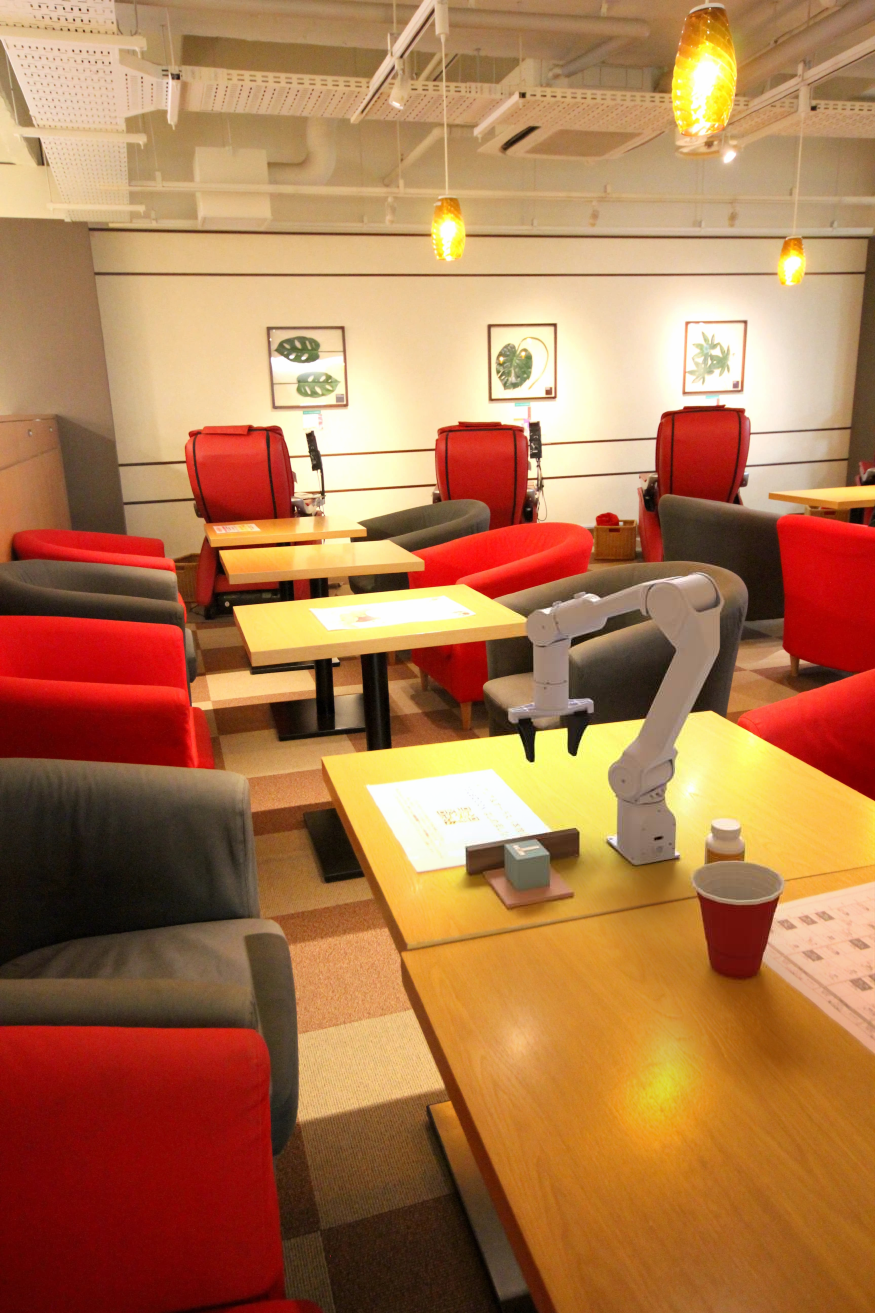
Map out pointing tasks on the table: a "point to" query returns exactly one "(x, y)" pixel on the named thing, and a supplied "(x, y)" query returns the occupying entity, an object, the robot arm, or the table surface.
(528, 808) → the table surface
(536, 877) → the lettered cube
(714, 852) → the supplement bottle
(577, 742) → the robot arm
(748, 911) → the plastic cup
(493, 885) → the terracotta tile
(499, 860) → the walnut plank
